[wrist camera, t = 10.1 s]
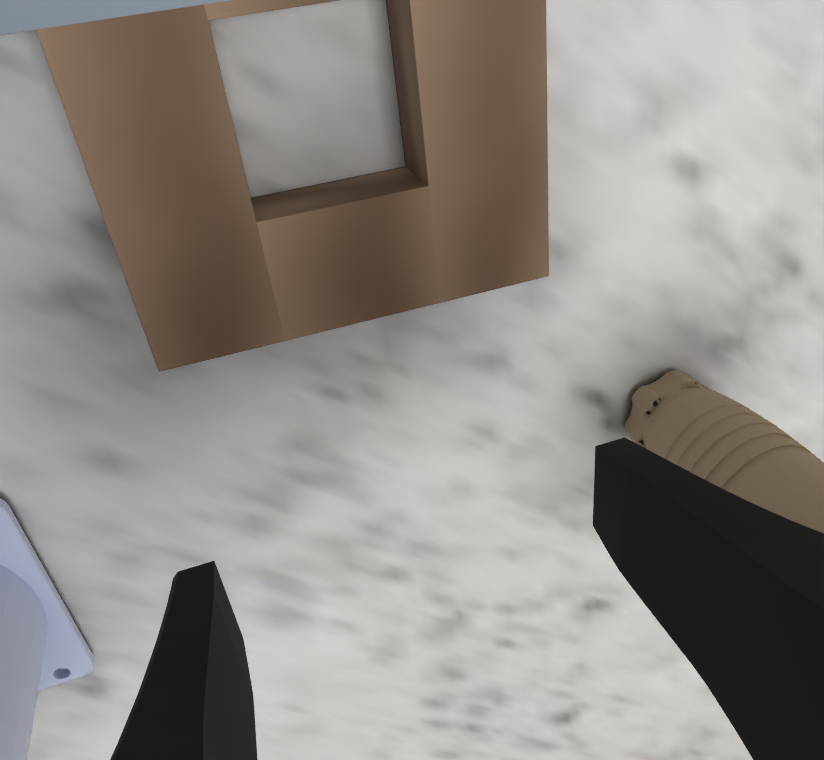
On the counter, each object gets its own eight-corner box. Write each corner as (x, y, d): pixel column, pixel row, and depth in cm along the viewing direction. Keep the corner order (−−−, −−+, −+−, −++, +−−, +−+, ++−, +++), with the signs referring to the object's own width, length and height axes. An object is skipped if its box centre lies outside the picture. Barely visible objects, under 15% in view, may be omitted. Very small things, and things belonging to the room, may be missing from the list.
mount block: (158, 337, 20) (158, 371, 18) (-11, -147, 14) (-33, -161, 12) (519, 252, 22) (548, 276, 20) (504, -200, 16) (543, -218, 15)
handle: (563, 447, 27) (911, 863, 15) (675, 308, 25) (1176, 646, 13) (643, 485, 29) (998, 870, 17) (749, 361, 28) (1229, 688, 15)
